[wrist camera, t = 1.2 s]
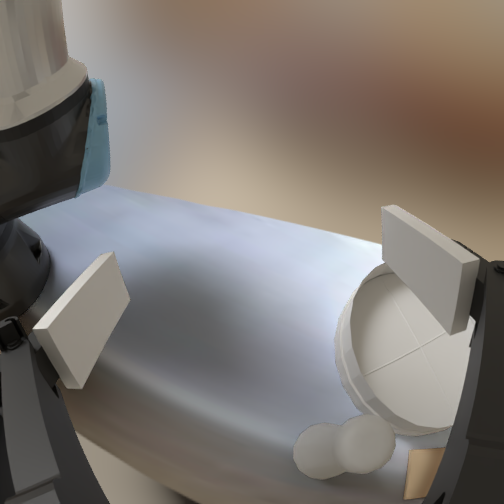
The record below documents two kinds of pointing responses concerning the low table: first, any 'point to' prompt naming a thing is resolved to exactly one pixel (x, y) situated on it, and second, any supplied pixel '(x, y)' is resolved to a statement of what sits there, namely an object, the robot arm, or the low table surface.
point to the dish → (400, 357)
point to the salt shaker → (344, 447)
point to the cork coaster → (421, 471)
